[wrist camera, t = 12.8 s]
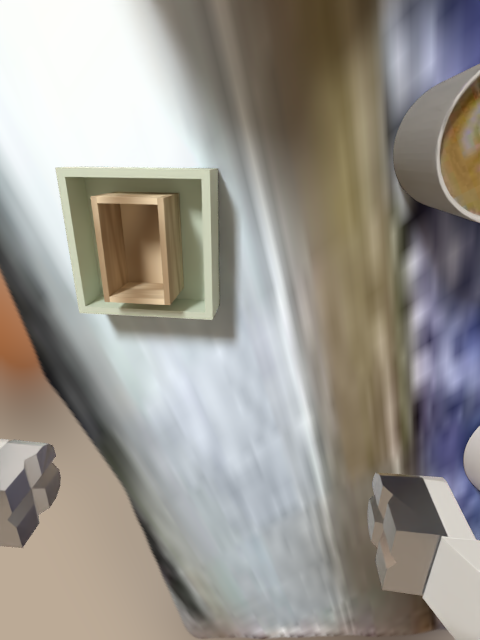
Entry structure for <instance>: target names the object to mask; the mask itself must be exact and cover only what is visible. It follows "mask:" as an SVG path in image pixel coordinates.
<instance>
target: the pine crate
mask: <svg viewBox="0 0 480 640" xmlns="http://www.w3.org/2000/svg"><path fill="white" fill-rule="evenodd" d="M90 198H91V205H92V212H93V220H94V227H95V234H96V242H97V249H98V257H99V264H100V271H101V279H102V286H103V293H104V301H105V302H116V303H136V304H156V305H171V304H172V302H173V301H174V300H175V298H176V297H177V296H178V295H179V293H180V292H181V291H182V290H183V288H184V276H183V255H182V235H181V215H180V194H179V193H161V192H111V193H106V194H101V195H96V196H91V197H90Z"/></svg>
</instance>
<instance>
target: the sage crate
mask: <svg viewBox="0 0 480 640" xmlns="http://www.w3.org/2000/svg"><path fill="white" fill-rule="evenodd" d="M56 174H57V180H58V186H59V192H60V198H61V204H62V210H63V216H64V223H65V229H66V235H67V241H68V247H69V253H70V259H71V265H72V271H73V277H74V283H75V289H76V295H77V301H78V307H79V313H90V314H110V315H129V316H148V317H167V318H186V319H205V320H213V318H214V316H215V314H216V312H217V309H218V307H219V305H220V299H219V215H218V169H216V168H140V167H59V168H56ZM111 192H161V193H179V194H180V215H181V235H182V255H183V276H184V288H183V290H182V291H181V292H180V293H179V295H178V296H177V297H176V298H175V300H174V301H173V302H172V304H171V305H156V304H136V303H116V302H105V301H104V293H103V286H102V279H101V271H100V264H99V257H98V249H97V242H96V234H95V227H94V220H93V212H92V205H91V198H90V197H91V196H96V195H101V194H106V193H111Z"/></svg>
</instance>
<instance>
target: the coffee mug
mask: <svg viewBox="0 0 480 640" xmlns="http://www.w3.org/2000/svg"><path fill="white" fill-rule="evenodd" d="M393 162H394V169H395V172H396V175H397V178H398V180H399V182H400V184H401V186H402V187H403V189H404V190H405V191H406V192H407V193H408V194H409V195H410V196H411V197H412V198H413V199H415V200H416V201H418V202H420V203H422V204H424V205H427V206H429V207H432V208H435V209H438V210H441V211H444V212H447V213H450V214H453V215H456V216H459V217H462V218H465V219H468V220H471V221H474V222H478V223H480V64H478V65H476V66H474V67H472V68H470V69H468V70H466V71H464V72H462V73H460V74H458V75H456V76H454V77H452V78H450V79H448V80H445V81H443V82H441V83H439V84H438V85H436V86H434V87H433V88H431V89H430V90H428V91H427V92H426V93H424V94H423V95H422V96H421V97H420V98H419V99H418V100H417V101H416V102H415V103H414V104H413V105H412V106H411V108H410V109H409V110H408V112H407V113H406V115H405V117H404V118H403V120H402V122H401V124H400V127H399V129H398V132H397V135H396V138H395V142H394V150H393Z"/></svg>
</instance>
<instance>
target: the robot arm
mask: <svg viewBox="0 0 480 640" xmlns="http://www.w3.org/2000/svg"><path fill="white" fill-rule="evenodd" d="M55 457H56V454H55V451H54V447H53V446H52V445H50V444H45V443H36V442H28V441H19V440H7V439H0V546H6V547H18V548H22V547H23V546H24V545H25V543H26V542H27V540H28V539H29V537H30V536H31V535H32V533H33V532H34V530H35V529H36V527H37V526H38V524H39V516H38V515H39V514H41V513H42V512H44V511H45V510H47V509H49V508H50V506H51V505H52V503H53V502H54V500H55V499H56V496H57V494H58V490H59V487H60V478H61V477H60V472H59V469H58V468H57V467H56V466H55V465H54V464H53V463H52V461H53V460H54V458H55ZM464 468H465V472H466V474H467V476H468V478H469V480H470V481H471V483H472V484H473V485H474V486H475V487H476V488H477V489H478V490H479V491H480V426H479V427H478V428H477V429H476V431H475V432H474V433H473V435H472V436H471V438H470V439H469V441H468V443H467V446H466V448H465V452H464ZM372 486H373V490H374V494H375V495H374V496H372V497H371V498H370V499H369V505H368V528H369V534H370V539H371V542H372V543H373V544H374V545H375V546H376V547H377V554H376V559H375V561H376V565H377V570H378V574H379V578H380V583H381V587H382V590H387V591H394V592H401V593H407V594H414V595H421V596H423V599H424V600H425V602H426V603H427V604H428V605H429V607H430V608H431V609H432V611H433V612H434V613H435V614H436V616H437V617H438V618H439V620H440V621H441V622H442V624H443V625H444V626H445V627H446V629H447V630H448V631H449V633H450V634H451V635H452V636H453V637H454V639H455V640H480V540H476V539H475V537H474V535H473V533H472V531H471V529H470V527H469V525H468V523H467V521H466V519H465V517H464V515H463V513H462V511H461V509H460V507H459V505H458V503H457V501H456V499H455V497H454V495H453V493H452V491H451V489H450V487H449V485H448V484H447V482H446V480H445V479H443V478H442V477H430V476H414V475H401V474H389V473H376V474H375V476H374V479H373V483H372Z"/></svg>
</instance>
